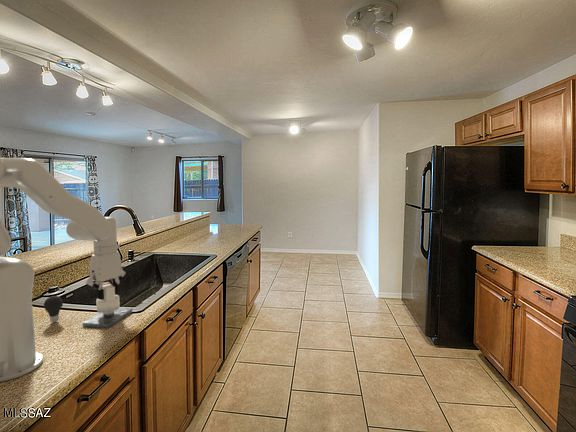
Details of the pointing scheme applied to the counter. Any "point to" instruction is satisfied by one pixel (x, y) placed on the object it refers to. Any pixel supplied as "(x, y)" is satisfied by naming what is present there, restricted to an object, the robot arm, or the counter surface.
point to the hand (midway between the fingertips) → (107, 296)
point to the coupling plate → (107, 318)
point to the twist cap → (108, 299)
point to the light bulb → (53, 307)
